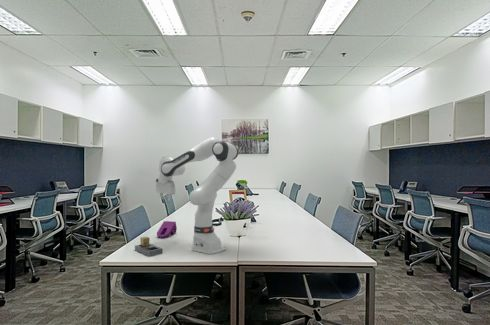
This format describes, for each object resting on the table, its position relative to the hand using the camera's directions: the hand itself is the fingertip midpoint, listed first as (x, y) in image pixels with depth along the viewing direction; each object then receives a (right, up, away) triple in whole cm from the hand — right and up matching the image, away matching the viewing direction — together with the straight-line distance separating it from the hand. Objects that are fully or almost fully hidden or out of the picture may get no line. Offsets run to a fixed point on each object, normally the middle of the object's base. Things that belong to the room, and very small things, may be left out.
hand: (165, 200), depth 213 cm
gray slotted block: (-4, -29, -24) cm, 38 cm away
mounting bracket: (-4, -30, +18) cm, 35 cm away
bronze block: (-8, -29, -21) cm, 37 cm away
